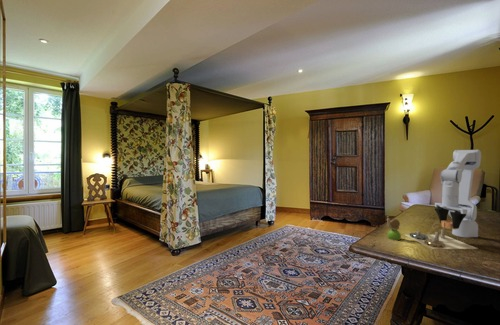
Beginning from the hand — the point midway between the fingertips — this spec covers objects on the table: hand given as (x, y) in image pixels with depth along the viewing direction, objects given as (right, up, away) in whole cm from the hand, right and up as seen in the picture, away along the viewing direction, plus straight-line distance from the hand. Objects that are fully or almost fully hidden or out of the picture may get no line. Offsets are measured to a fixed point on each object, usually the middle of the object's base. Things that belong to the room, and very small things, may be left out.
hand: (449, 226), depth 107 cm
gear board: (-3, -9, +2) cm, 10 cm away
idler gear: (0, -1, 0) cm, 1 cm away
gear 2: (-9, -8, -2) cm, 12 cm away
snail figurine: (-22, -9, +5) cm, 25 cm away
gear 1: (-9, -7, +7) cm, 14 cm away
